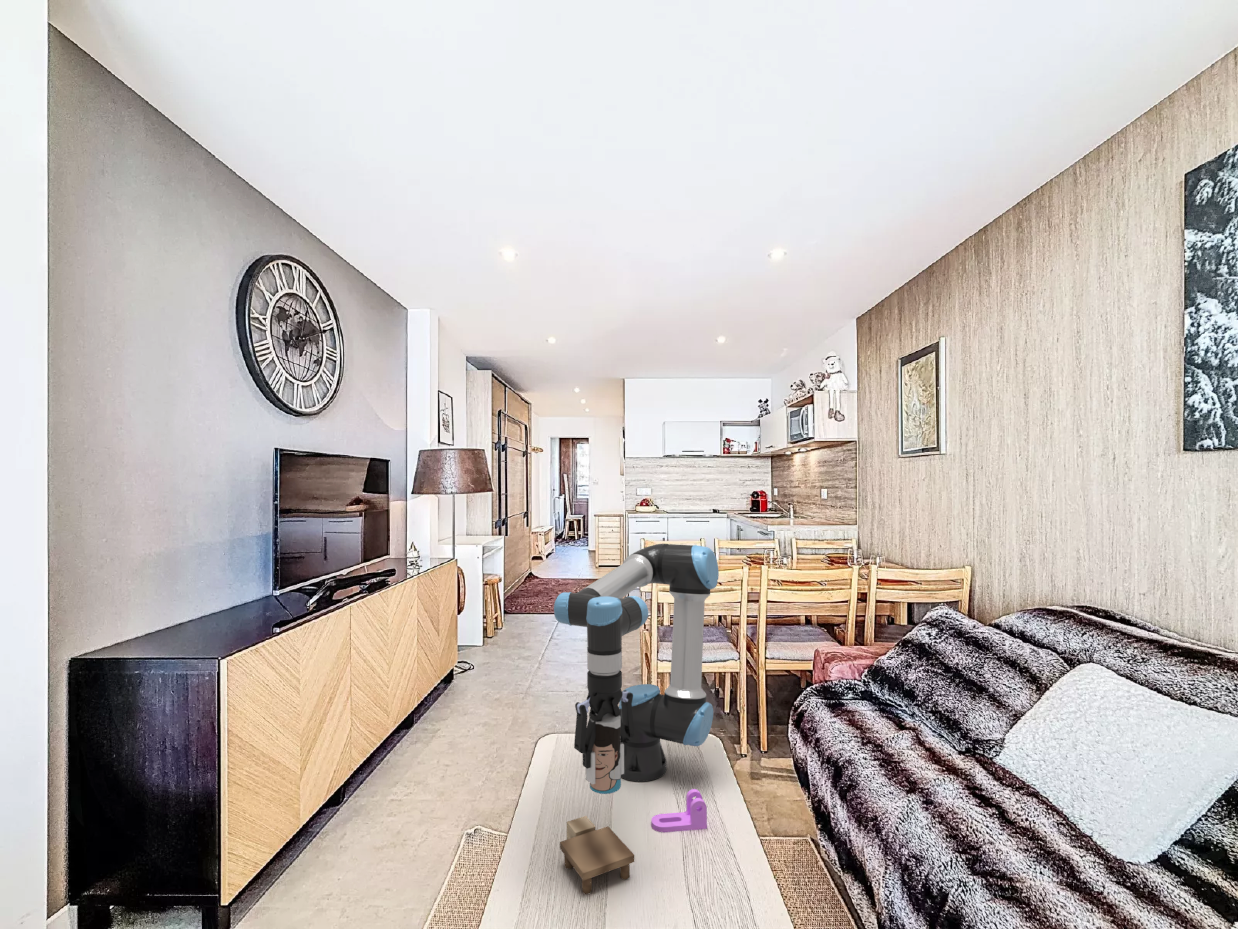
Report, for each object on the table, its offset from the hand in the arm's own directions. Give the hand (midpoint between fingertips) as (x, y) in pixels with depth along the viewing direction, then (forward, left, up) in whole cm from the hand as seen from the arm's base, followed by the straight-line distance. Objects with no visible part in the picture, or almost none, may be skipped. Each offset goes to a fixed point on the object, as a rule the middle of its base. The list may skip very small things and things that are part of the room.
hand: (605, 776), depth 135 cm
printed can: (0, 0, -2) cm, 2 cm away
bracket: (-23, -7, -21) cm, 32 cm away
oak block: (+1, -11, -21) cm, 23 cm away
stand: (+2, -1, -20) cm, 20 cm away
